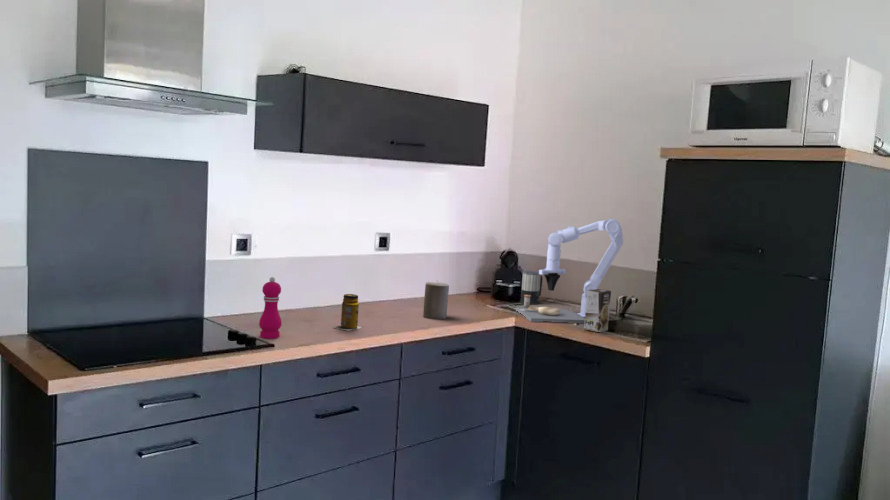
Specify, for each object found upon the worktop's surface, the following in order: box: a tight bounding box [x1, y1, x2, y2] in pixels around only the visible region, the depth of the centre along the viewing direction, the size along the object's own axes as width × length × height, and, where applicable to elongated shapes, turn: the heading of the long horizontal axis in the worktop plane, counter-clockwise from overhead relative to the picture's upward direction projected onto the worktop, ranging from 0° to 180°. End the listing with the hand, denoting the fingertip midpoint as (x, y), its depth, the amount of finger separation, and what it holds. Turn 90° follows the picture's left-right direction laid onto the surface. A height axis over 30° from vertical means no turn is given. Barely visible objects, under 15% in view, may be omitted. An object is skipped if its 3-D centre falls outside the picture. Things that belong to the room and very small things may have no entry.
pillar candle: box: [422, 280, 450, 320], centre depth 293 cm, size 10×10×15 cm
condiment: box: [332, 293, 363, 332], centre depth 262 cm, size 7×8×12 cm
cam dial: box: [523, 295, 561, 315], centre depth 310 cm, size 16×9×7 cm, turn 68°
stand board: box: [515, 307, 585, 324], centre depth 310 cm, size 24×24×2 cm
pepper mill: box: [258, 276, 282, 340], centre depth 239 cm, size 7×7×20 cm
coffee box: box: [583, 288, 612, 333], centre depth 287 cm, size 9×6×16 cm
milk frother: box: [519, 270, 543, 305], centre depth 347 cm, size 14×16×15 cm
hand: (551, 290), depth 320 cm, fingers closed
